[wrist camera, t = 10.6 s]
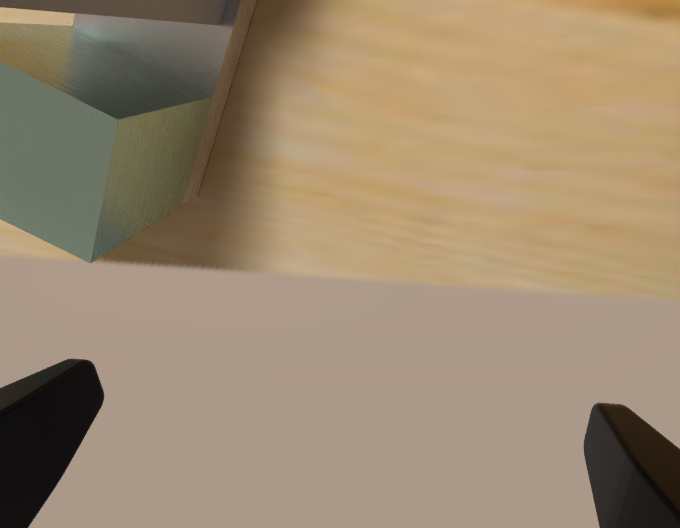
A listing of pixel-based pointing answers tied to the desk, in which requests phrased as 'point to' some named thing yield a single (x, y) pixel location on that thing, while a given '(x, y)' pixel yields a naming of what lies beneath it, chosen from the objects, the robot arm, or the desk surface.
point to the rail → (110, 122)
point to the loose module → (132, 8)
